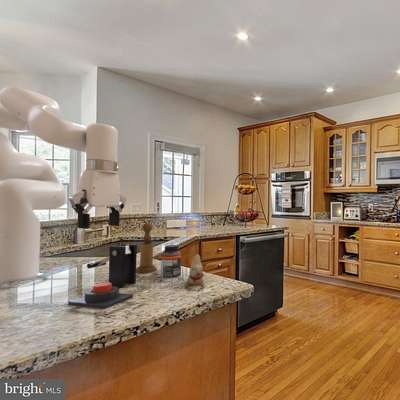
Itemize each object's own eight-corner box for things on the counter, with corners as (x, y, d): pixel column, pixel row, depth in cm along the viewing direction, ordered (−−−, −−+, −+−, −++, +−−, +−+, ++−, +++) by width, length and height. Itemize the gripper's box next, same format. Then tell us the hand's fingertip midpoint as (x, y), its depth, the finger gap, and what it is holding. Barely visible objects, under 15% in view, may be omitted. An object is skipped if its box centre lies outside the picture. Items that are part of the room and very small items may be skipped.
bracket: (94, 292, 77) (96, 246, 77) (119, 284, 85) (120, 242, 85) (125, 296, 75) (127, 248, 75) (147, 287, 83) (149, 244, 83)
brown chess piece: (147, 278, 93) (148, 223, 93) (130, 276, 94) (132, 223, 94) (160, 273, 99) (162, 222, 100) (145, 272, 101) (146, 222, 101)
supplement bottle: (168, 276, 95) (169, 243, 95) (184, 278, 94) (185, 244, 94) (156, 281, 89) (157, 246, 89) (173, 283, 88) (173, 246, 88)
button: (88, 293, 65) (89, 285, 65) (102, 288, 69) (103, 281, 69) (101, 294, 65) (101, 287, 65) (115, 290, 68) (115, 282, 68)
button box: (67, 311, 64) (68, 293, 64) (99, 299, 72) (100, 284, 72) (104, 315, 62) (104, 297, 62) (132, 303, 70) (133, 287, 70)
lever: (88, 270, 79) (85, 263, 80) (103, 267, 84) (101, 259, 84) (121, 255, 77) (118, 247, 77) (135, 252, 82) (132, 244, 82)
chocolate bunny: (180, 291, 80) (181, 256, 80) (190, 283, 88) (190, 251, 88) (200, 291, 80) (201, 256, 80) (208, 283, 88) (208, 251, 88)
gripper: (115, 171, 90) (114, 224, 90) (59, 163, 73) (57, 229, 73) (135, 171, 88) (134, 225, 88) (83, 163, 72) (81, 230, 71)
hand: (99, 227), depth 80 cm, fingers open, 9 cm apart
